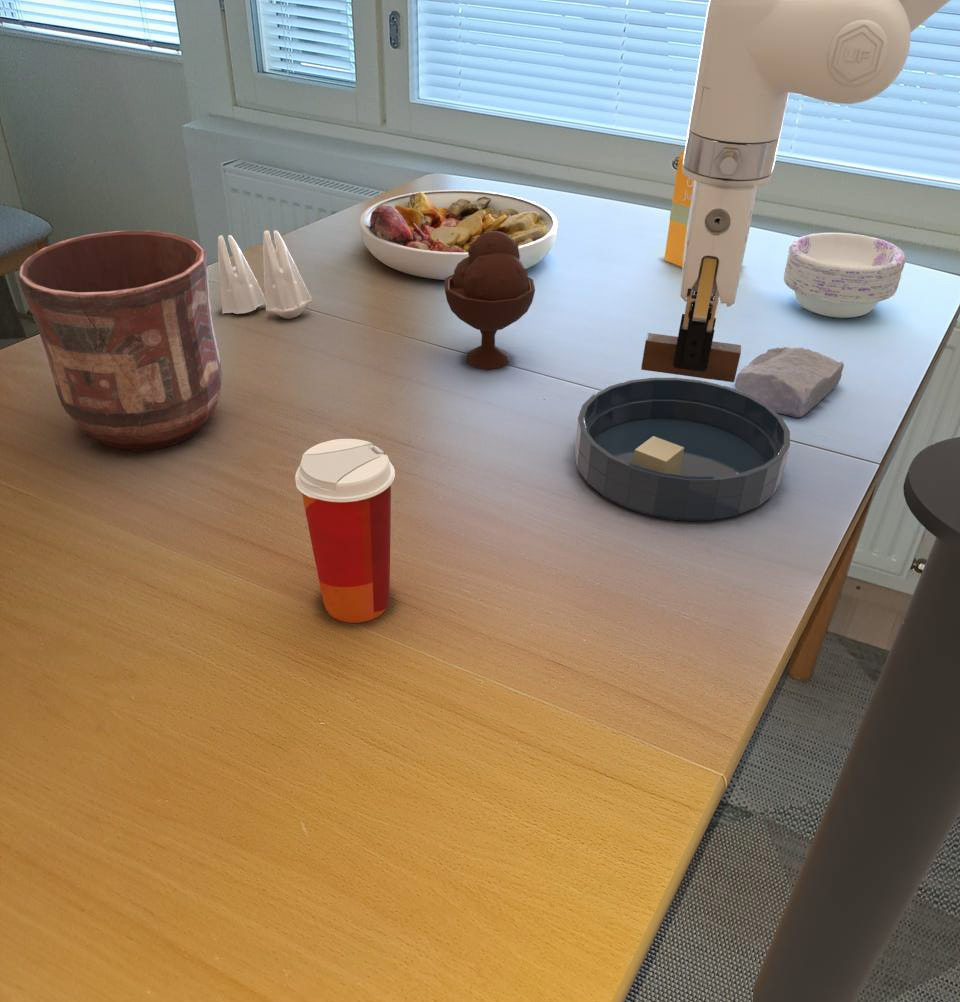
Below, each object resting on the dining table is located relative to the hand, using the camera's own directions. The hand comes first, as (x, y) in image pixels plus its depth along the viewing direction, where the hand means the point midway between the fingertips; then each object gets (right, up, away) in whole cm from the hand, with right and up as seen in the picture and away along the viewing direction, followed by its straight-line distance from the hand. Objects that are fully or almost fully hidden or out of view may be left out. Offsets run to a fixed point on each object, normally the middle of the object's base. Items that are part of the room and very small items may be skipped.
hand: (690, 361), depth 92 cm
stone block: (+16, +3, +21) cm, 27 cm away
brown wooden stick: (0, -1, +1) cm, 1 cm away
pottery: (-57, -3, +13) cm, 58 cm away
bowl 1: (-24, +33, +55) cm, 69 cm away
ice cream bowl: (-20, +8, +27) cm, 34 cm away
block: (-3, -11, +5) cm, 12 cm away
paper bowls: (+29, +20, +42) cm, 55 cm away
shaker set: (-49, +17, +36) cm, 64 cm away
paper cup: (-31, -24, -10) cm, 41 cm away
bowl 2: (0, -9, +8) cm, 12 cm away
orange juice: (+14, +31, +54) cm, 63 cm away
